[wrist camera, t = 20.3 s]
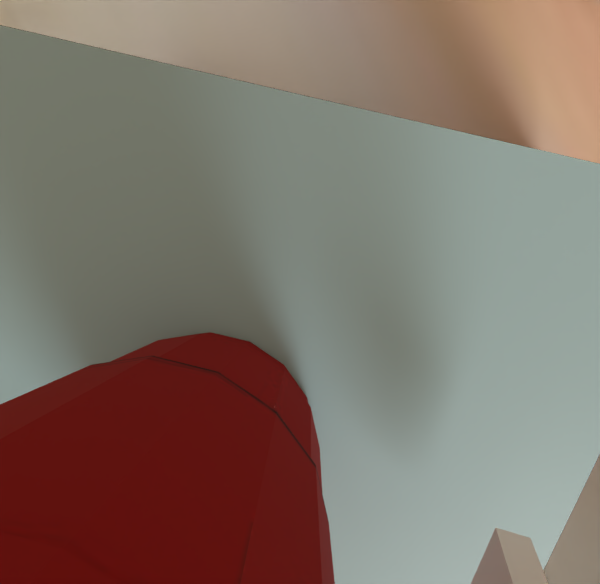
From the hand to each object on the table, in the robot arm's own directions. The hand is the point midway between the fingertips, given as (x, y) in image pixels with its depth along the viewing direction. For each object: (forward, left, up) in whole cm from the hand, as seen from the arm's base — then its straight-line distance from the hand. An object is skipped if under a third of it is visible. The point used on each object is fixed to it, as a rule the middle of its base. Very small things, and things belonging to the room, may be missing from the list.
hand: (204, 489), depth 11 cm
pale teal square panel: (0, 0, -3) cm, 3 cm away
